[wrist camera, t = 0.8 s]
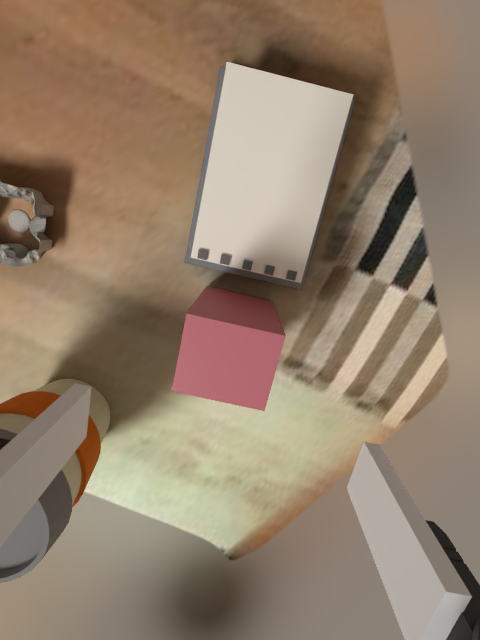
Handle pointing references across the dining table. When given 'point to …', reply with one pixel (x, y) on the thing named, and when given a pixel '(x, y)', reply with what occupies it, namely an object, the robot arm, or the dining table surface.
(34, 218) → the egg carton
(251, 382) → the pink block
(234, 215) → the white notepad
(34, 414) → the reusable coffee cup
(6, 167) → the dining table surface
